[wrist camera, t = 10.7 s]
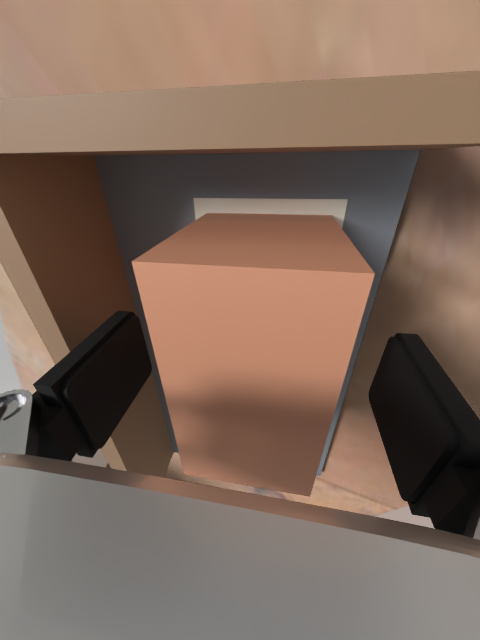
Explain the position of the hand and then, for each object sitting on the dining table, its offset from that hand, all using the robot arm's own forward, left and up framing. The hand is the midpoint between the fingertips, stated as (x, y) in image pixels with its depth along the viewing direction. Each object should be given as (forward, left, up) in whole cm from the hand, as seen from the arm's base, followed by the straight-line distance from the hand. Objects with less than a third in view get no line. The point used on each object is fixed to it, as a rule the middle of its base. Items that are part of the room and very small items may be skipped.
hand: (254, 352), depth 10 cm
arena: (-4, +3, -4) cm, 6 cm away
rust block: (0, 0, -3) cm, 3 cm away
